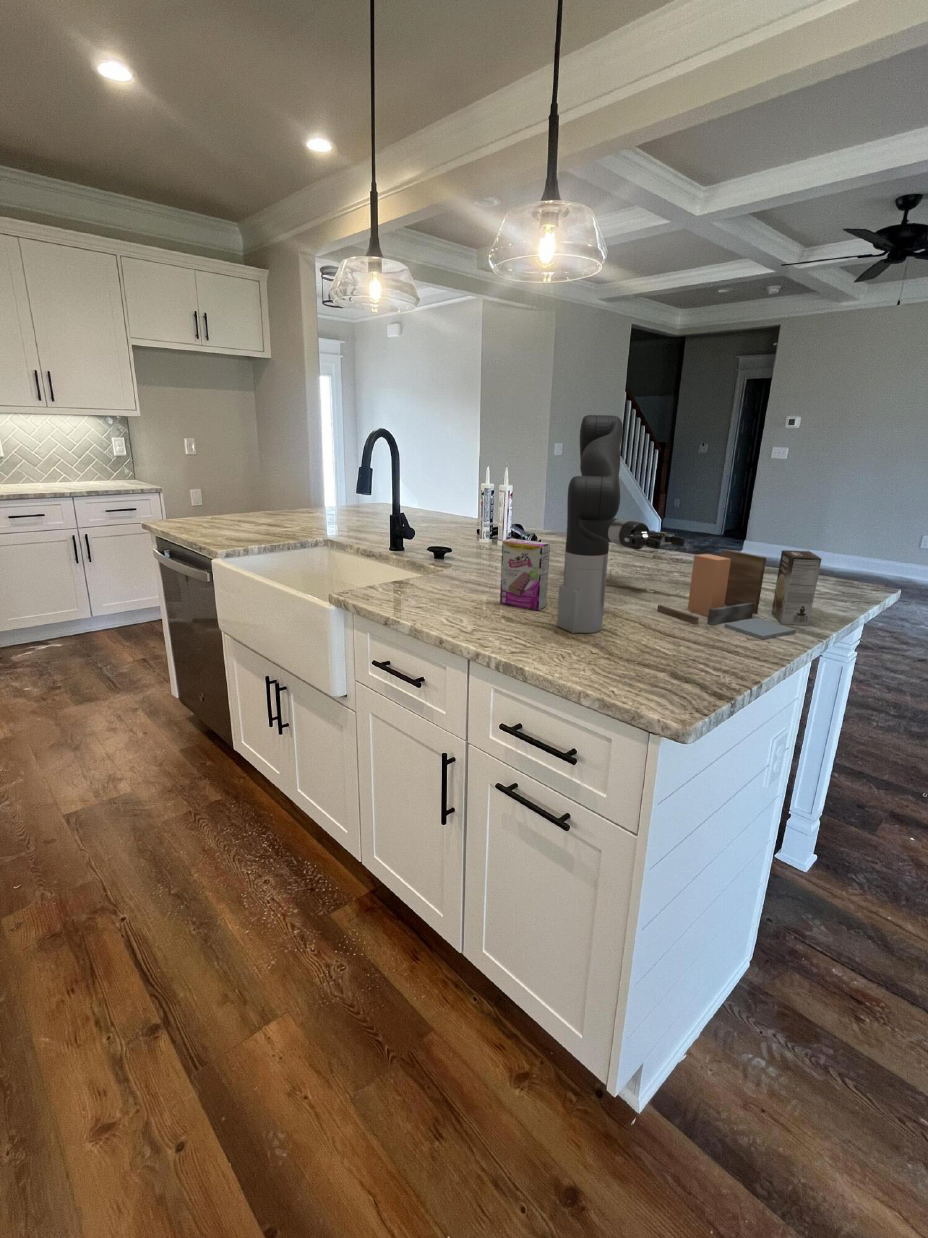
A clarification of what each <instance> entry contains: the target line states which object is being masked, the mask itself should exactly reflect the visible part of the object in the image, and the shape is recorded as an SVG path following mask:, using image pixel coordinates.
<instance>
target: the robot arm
mask: <svg viewBox="0 0 928 1238" xmlns="http://www.w3.org/2000/svg"><path fill="white" fill-rule="evenodd" d="M623 427H624V425H623V422H622V420H621V418H620V417H619V416H616V415H610V414H606V415H605V414H603V415H602V414H588V415H585V416H583V418H582V421H581V423H580V430H579V456H580V457H579V458H580V459H579V460H580V465H579V466H580V468H579V470H580V473H581V475H575V476H573V477H572V478H571V479H570V481H569V484H568V488H567V489H568V490H567V499H566V500H567V507H566V508H567V509H566V510H567V515H566V516H567V520H566V521H567V523H566V537H565V538H566V539H565V548H564V549H565V551H564V552H565V553H564V564H563V567H564V568H563V579H562V582H563V583H562V584H560V585H559V587H558V601H557V619H556V627H559V628H561V629H563V630H566V631H568V632H570V633H572V634H578V633H581V634H590V633H591V634H593V633H598V632H600V631H601V630H602V628H603V619H604V606H605V596H606V585H607V584H606V583H607V571H608V564H609V563H608V561H609V552H610V551H609V550H610V543H611V544H615V545H617V546H619V547H623V548H626V549H631V550H635V551H638V550H641V549H643V548H651V549H655V550H659V549H660V547H661V546H664V545H671V546H672V545H673V546H676V547H678V546H679V547H684V545H685V538H684V537H681V536H679V534H677V533H674V532H673V533H672V532H667V531H663V530H661V531H656V530H652V529H651V530H650V529H649V527H648V525H647V524H646V523H643V522H640V521H634V520H631V519H630V520H629V519H621V518H615V517H616V516H617V514H618V512H619V509H620V504H621V486H620V469H621V445H622V440H623V434H624V433H623V432H624V430H623V429H624V428H623Z"/></svg>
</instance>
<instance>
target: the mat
mask: <svg viewBox="0 0 928 1238" xmlns="http://www.w3.org/2000/svg"><path fill="white" fill-rule="evenodd" d="M723 627H724V628H727V629H728V630H729V629H730V630H732V631H736V632H739V633H742V634H745V635H748V636H750V637H754V638H756V637H757V639H760V640H762V639H764V640H767V639H772V638H771V637H773V638H778V637H782V636H783V637H784V636H787V635H786V634H788V635H793V634H796V633H797V629H795V628H792V627H789V626H786V625H783V624H778V623H775V622H773V621H768V620H765V619H762V618H759V617H755V618H748V619H742V620H736V621H731V622H725V623H724V626H723ZM792 633H793V634H792ZM777 636H778V637H777Z"/></svg>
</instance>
